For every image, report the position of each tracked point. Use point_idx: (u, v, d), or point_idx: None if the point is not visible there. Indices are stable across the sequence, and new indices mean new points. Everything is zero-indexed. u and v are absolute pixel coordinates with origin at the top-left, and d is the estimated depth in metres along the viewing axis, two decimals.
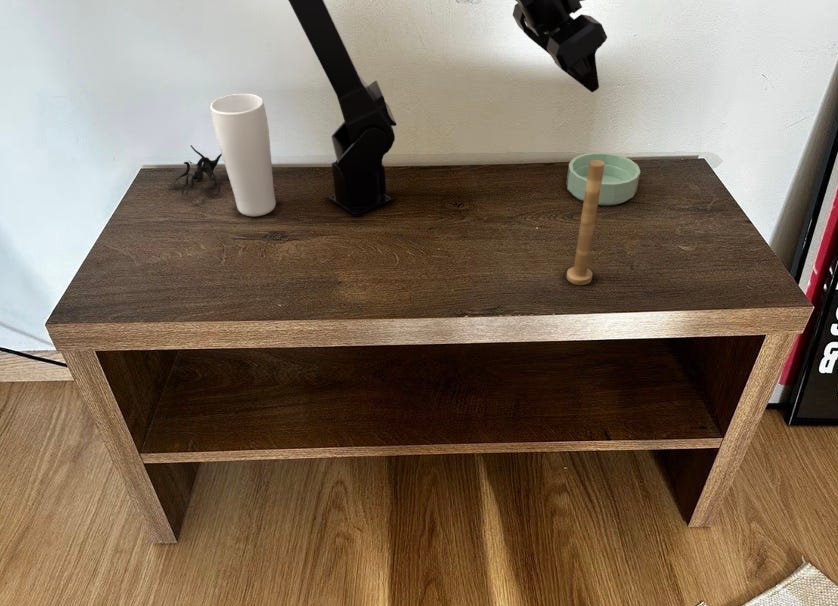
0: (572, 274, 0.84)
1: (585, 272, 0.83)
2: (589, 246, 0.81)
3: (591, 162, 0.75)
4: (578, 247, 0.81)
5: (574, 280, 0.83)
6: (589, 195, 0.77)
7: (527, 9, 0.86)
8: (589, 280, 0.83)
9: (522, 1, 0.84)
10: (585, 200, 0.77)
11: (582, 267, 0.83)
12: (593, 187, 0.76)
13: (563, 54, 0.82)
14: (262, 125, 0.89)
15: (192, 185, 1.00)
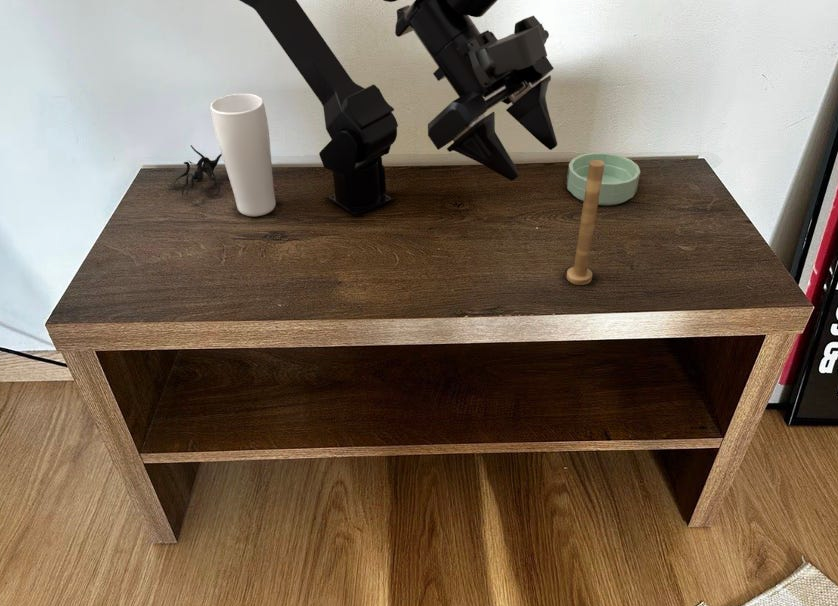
0: (572, 274, 0.84)
1: (585, 272, 0.83)
2: (589, 246, 0.81)
3: (591, 162, 0.75)
4: (578, 247, 0.81)
5: (574, 280, 0.83)
6: (589, 195, 0.77)
7: None
8: (589, 280, 0.83)
9: (434, 73, 0.78)
10: (585, 200, 0.77)
11: (582, 267, 0.83)
12: (593, 187, 0.76)
13: (429, 133, 0.74)
14: (262, 125, 0.89)
15: (192, 185, 1.00)
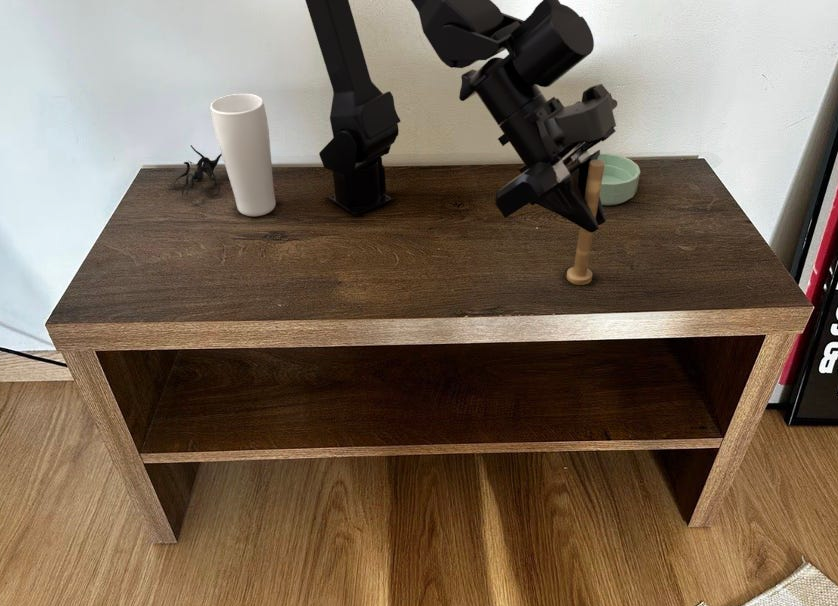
0: (572, 274, 0.84)
1: (585, 272, 0.83)
2: (589, 246, 0.81)
3: (591, 162, 0.75)
4: (578, 247, 0.81)
5: (574, 280, 0.83)
6: (589, 195, 0.77)
7: (513, 147, 0.78)
8: (589, 280, 0.83)
9: (499, 139, 0.77)
10: (585, 200, 0.77)
11: (582, 267, 0.83)
12: (593, 187, 0.76)
13: (497, 202, 0.74)
14: (262, 125, 0.89)
15: (192, 185, 1.00)
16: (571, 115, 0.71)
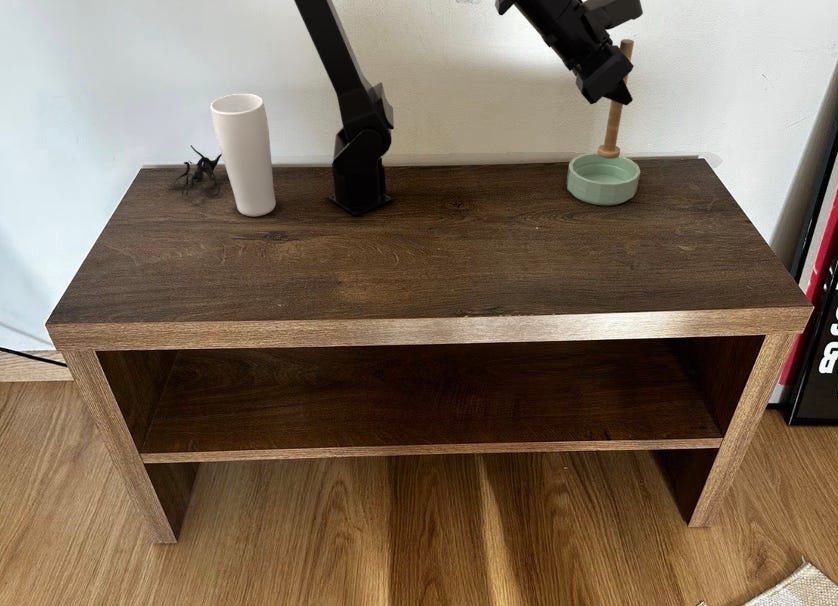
0: (606, 151, 0.96)
1: (615, 146, 0.96)
2: None
3: (623, 41, 0.87)
4: (612, 124, 0.93)
5: (612, 155, 0.95)
6: None
7: (554, 47, 0.86)
8: (619, 152, 0.96)
9: (546, 41, 0.84)
10: None
11: (615, 141, 0.95)
12: None
13: (588, 90, 0.81)
14: (262, 125, 0.89)
15: (192, 185, 1.00)
16: None
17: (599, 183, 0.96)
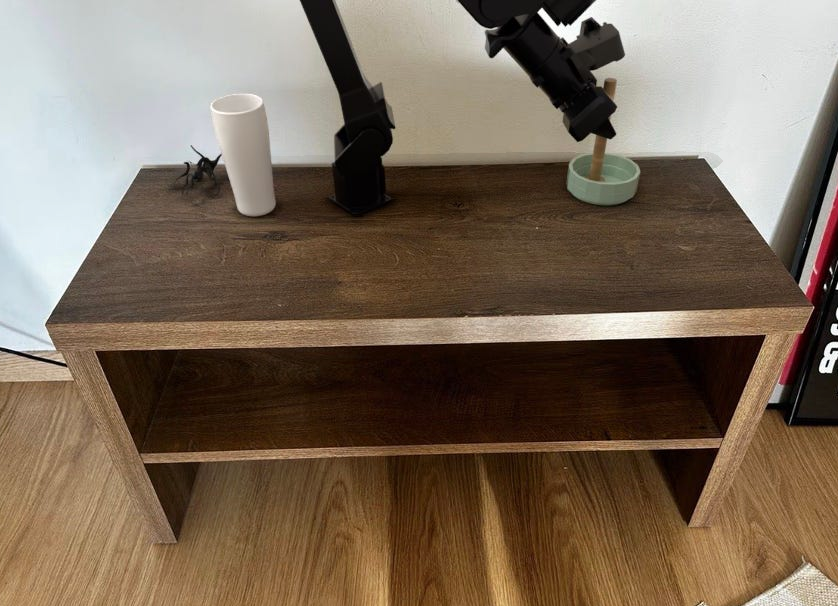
0: None
1: (600, 176, 1.00)
2: (604, 152, 0.98)
3: (607, 80, 0.91)
4: (597, 156, 0.98)
5: None
6: None
7: (542, 87, 0.90)
8: None
9: (534, 82, 0.89)
10: None
11: (600, 172, 1.00)
12: None
13: (574, 129, 0.86)
14: (262, 125, 0.89)
15: (192, 185, 1.00)
16: (602, 43, 0.86)
17: (599, 183, 0.96)
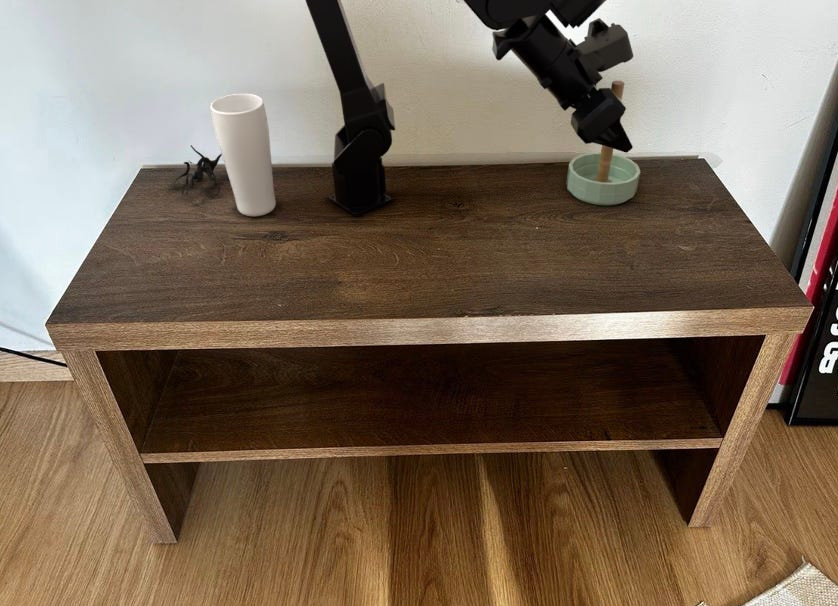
0: None
1: (607, 179, 1.00)
2: None
3: (614, 83, 0.91)
4: (604, 159, 0.97)
5: None
6: None
7: (550, 88, 0.89)
8: None
9: (542, 84, 0.88)
10: None
11: (607, 175, 0.99)
12: None
13: (583, 131, 0.85)
14: (262, 125, 0.89)
15: (192, 185, 1.00)
16: (610, 44, 0.86)
17: (599, 183, 0.96)
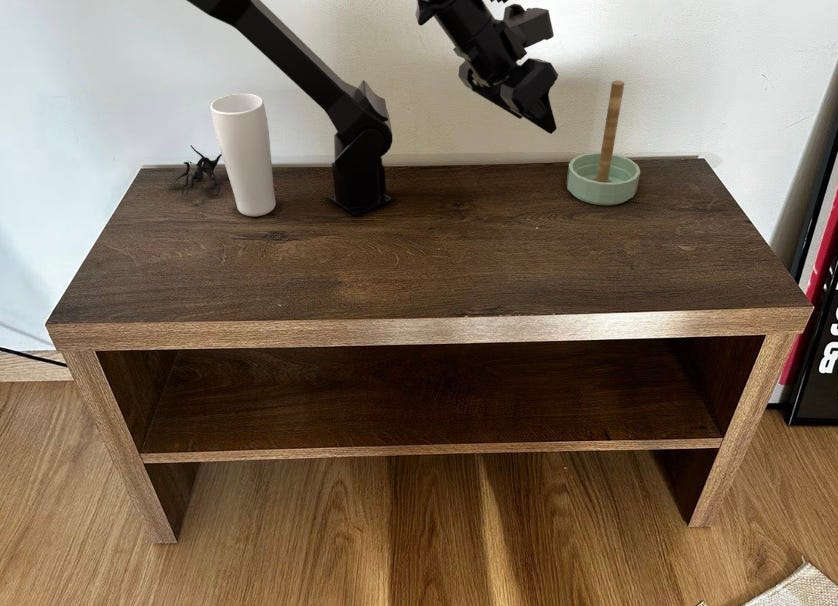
0: None
1: (607, 179, 1.00)
2: None
3: (614, 83, 0.91)
4: (604, 159, 0.97)
5: None
6: (615, 111, 0.93)
7: (475, 62, 0.86)
8: None
9: (468, 54, 0.85)
10: (611, 116, 0.93)
11: (607, 175, 0.99)
12: (618, 103, 0.92)
13: (518, 96, 0.82)
14: (262, 125, 0.89)
15: (192, 185, 1.00)
16: (534, 18, 0.85)
17: (599, 183, 0.96)
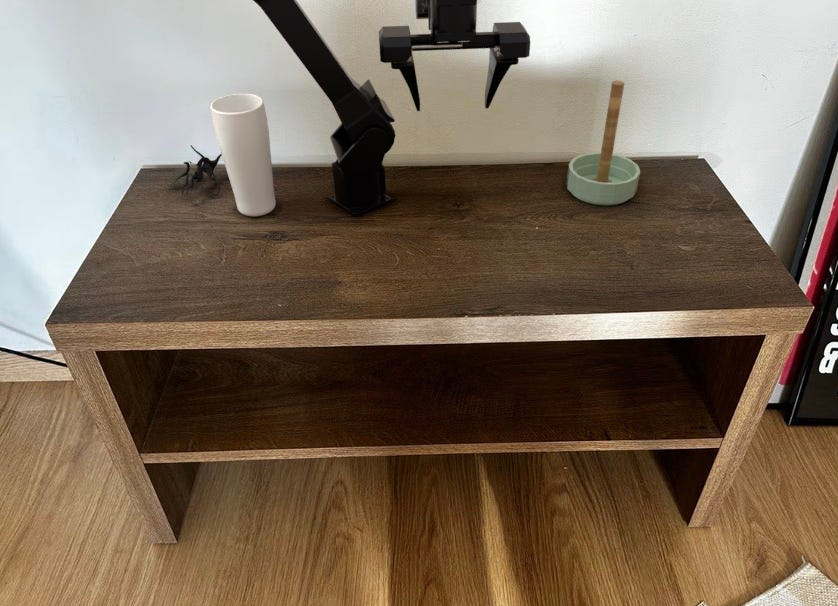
0: None
1: (607, 179, 1.00)
2: None
3: (614, 83, 0.91)
4: (604, 159, 0.97)
5: None
6: (615, 111, 0.93)
7: (468, 11, 0.84)
8: None
9: None
10: (611, 116, 0.93)
11: (607, 175, 0.99)
12: (618, 103, 0.92)
13: None
14: (262, 125, 0.89)
15: (192, 185, 1.00)
16: None
17: (599, 183, 0.96)
